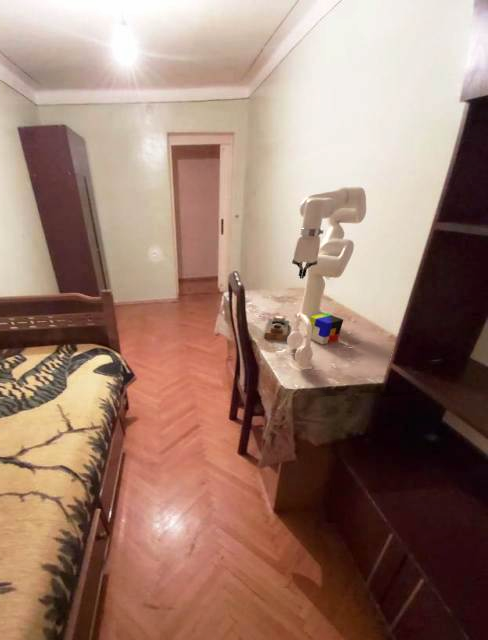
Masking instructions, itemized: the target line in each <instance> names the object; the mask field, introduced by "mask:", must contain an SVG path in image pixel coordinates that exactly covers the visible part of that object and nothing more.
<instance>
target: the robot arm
mask: <svg viewBox="0 0 488 640" xmlns="http://www.w3.org/2000/svg"><path fill="white" fill-rule="evenodd" d="M299 214H300V216H301V217H302V225H301V229H300V234H299V235H298V237H297V240H296V243H295V247H294V252H293V259H292V261H291V264H293V265H296V266H297V268H299V271H298V277H299V279H302V280H304V277H305V278H306V282H305V287H304V292H303V296H302V297H303V298H302V301H301V302H302V303H301V306H300V311H299V312H298V313H296V318H297V317H298V315H301V314H304V315H306V316H307V318H308V319H309V320H310V317H311V316H315V315H320V314H325V313H327V314H329V312H326V311H324V310H321V306H322V302H323V301H322V300H323V297H324V292H325V289H326V281H325V279H324V278H325V277H326V278H334V279H336V278H337V279H338V278H340V277H341V276H342V275H343V274H344V273H345V272H344V271H345V270H346V267H347V266H348V264H349V261H350V260H351V258H352V256H353V253H354V249H355V244H354V242H353V240H351V239H347V238H345V231H344V229H343V226H342V225H341V224H355V225H356V224H360V223H362V222H363V220H364V219H365V217H366V215H367V195H366V191H365V189H364V188H363V187H361V186H342V187H337V188H336V189H334V190H332V191H326V192H322V193H316V194H311V195H309V196H306V197H304V199H303V200H302V201H301V203H300V207H299ZM323 219H327V230H326V231H327V232H326V234H325V236H324V238H323V240H322V242H321V236H320V235H323V234H324V230H322V229H321V228H322V223H323ZM303 263H305V265H304V267H303Z"/></svg>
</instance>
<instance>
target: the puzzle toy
mask: <svg viewBox="0 0 488 640" xmlns="http://www.w3.org/2000/svg"><path fill="white" fill-rule="evenodd" d="M327 313H328V312H326V313H325V314H320V315H315V316H311V317H310V323H311V327H312V335H311V341H314V342H316V343H318V344H320V345H325V344H330V343H333V342H336V341H338V340H339V337H340V334H341V329H342V327H343V323H344V319H343V318H341V317H338V316H335V315H332V314H330V313H328V314H327ZM306 336H307V334H306V335H305V337H306Z"/></svg>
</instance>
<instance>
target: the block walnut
mask: <svg viewBox="0 0 488 640" xmlns="http://www.w3.org/2000/svg"><path fill="white" fill-rule="evenodd" d="M274 325H275V324H272V325H271V326H269V325H268V324H267V325H266V328H265V331H264V339H269V340H277V341H286V342H287V339H288V331H289V326H288V327H284V325H281V327H280V328H274Z"/></svg>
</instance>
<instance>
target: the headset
mask: <svg viewBox="0 0 488 640" xmlns="http://www.w3.org/2000/svg"><path fill="white" fill-rule="evenodd" d="M301 322H302V323H303V325H304V326H305V327H306V335H307V336H306V335H305V345H303V343H304V335H303V334H302V332H301V331H300V330H301V329H300V328H299V327H300V324H301ZM311 335H312V327H311V323H310V320H309V319H308V318H307V316H306V315H304V314H301V315H298V317H297V316H296V320H295V323H294V326H293V328H292V329H291V332H290V334H289V335H287V338H286V343H287V346H288V347H289V348H290V349H292V350H296V351H295V354H294V359H295V361H296V362H297V363H298V367H300V368H302V369H307V370H312V369H313V366H312V365H309V362H311V360H312V358H313V356H314V353H313V349H312V347H311V343H312V339H311ZM302 345H303V346H302Z"/></svg>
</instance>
